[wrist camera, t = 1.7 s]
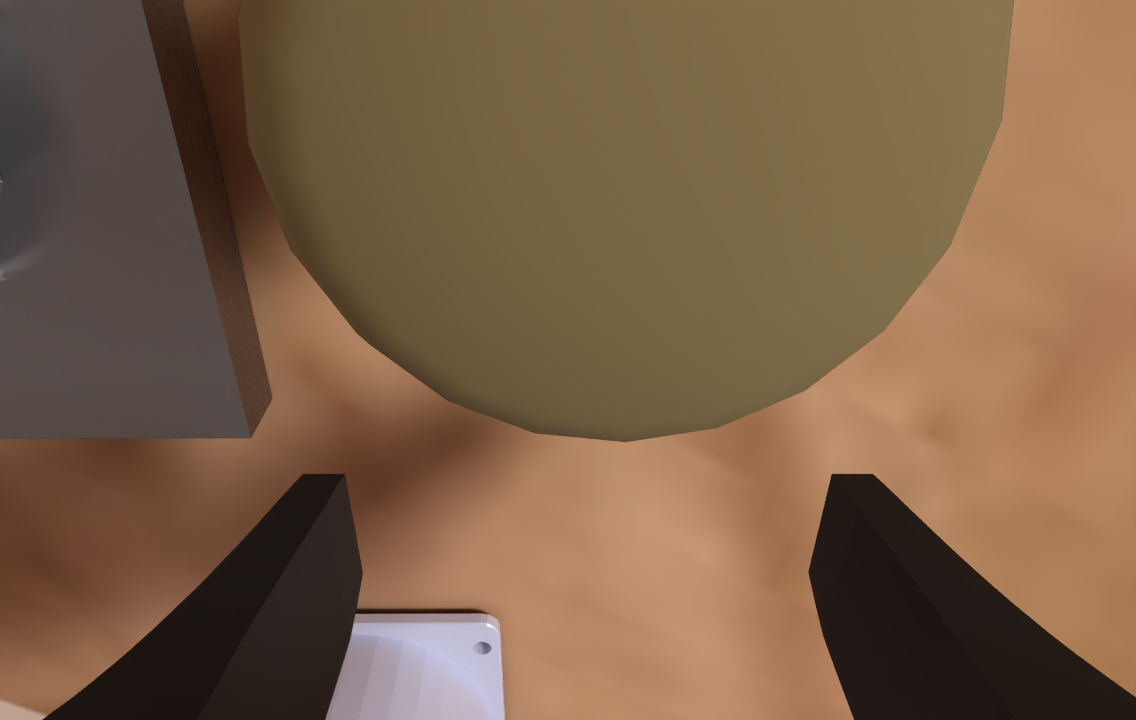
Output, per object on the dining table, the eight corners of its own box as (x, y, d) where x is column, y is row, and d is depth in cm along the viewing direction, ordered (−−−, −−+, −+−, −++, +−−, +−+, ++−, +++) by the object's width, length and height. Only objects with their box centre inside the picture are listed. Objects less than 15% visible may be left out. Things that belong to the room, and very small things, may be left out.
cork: (379, 90, 15) (74, 471, 5) (446, -312, 12) (22, -1017, 2) (682, 178, 16) (868, 630, 6) (816, -173, 13) (1544, -294, 3)
